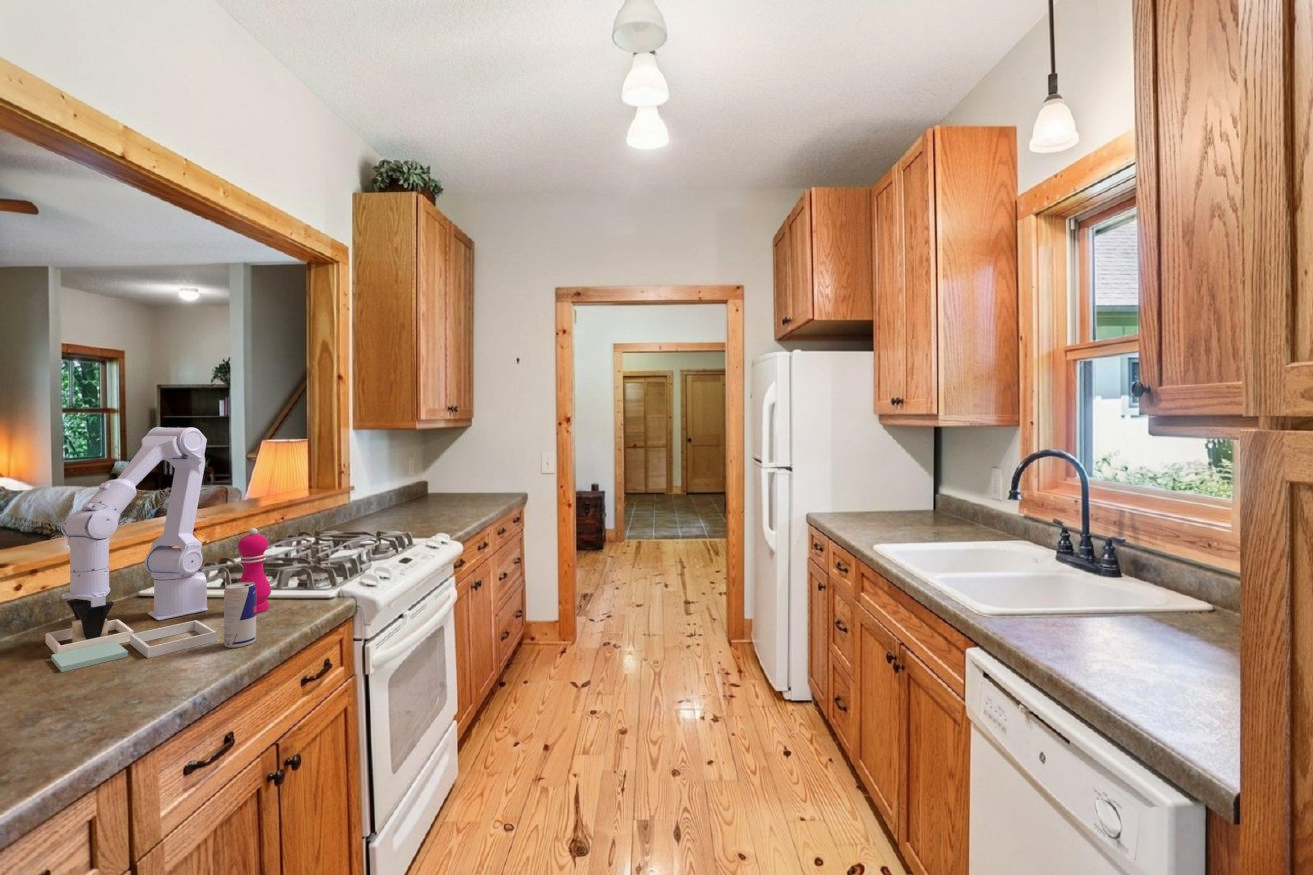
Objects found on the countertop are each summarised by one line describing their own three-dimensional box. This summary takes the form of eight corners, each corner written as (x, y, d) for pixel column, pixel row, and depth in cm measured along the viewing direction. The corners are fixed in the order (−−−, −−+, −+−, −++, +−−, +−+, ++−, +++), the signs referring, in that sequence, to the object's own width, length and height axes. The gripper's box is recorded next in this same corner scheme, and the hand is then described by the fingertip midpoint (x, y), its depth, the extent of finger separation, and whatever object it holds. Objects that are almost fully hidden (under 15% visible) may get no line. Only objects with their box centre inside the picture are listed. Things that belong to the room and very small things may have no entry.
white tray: (118, 628, 126) (118, 619, 126) (133, 640, 119) (133, 630, 119) (45, 643, 117) (45, 633, 117) (57, 657, 110) (57, 646, 110)
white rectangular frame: (196, 629, 126) (196, 620, 126) (216, 641, 119) (216, 631, 119) (130, 644, 117) (130, 634, 117) (147, 658, 110) (147, 647, 110)
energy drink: (262, 640, 120) (262, 583, 120) (236, 649, 115) (236, 589, 115) (244, 637, 122) (244, 580, 122) (217, 646, 117) (217, 587, 117)
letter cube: (102, 636, 121) (102, 615, 121) (107, 641, 119) (107, 619, 119) (72, 643, 118) (72, 620, 118) (77, 648, 115) (77, 625, 115)
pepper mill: (236, 617, 134) (236, 531, 134) (233, 610, 140) (233, 527, 139) (273, 611, 139) (273, 528, 139) (268, 604, 144) (268, 524, 144)
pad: (115, 646, 116) (115, 641, 116) (127, 656, 111) (127, 651, 111) (51, 660, 109) (51, 654, 109) (61, 672, 104) (61, 666, 104)
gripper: (54, 567, 119) (54, 632, 119) (70, 578, 111) (70, 649, 111) (101, 561, 125) (101, 623, 125) (119, 571, 116) (119, 638, 117)
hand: (90, 635), depth 118 cm, fingers open, 5 cm apart
